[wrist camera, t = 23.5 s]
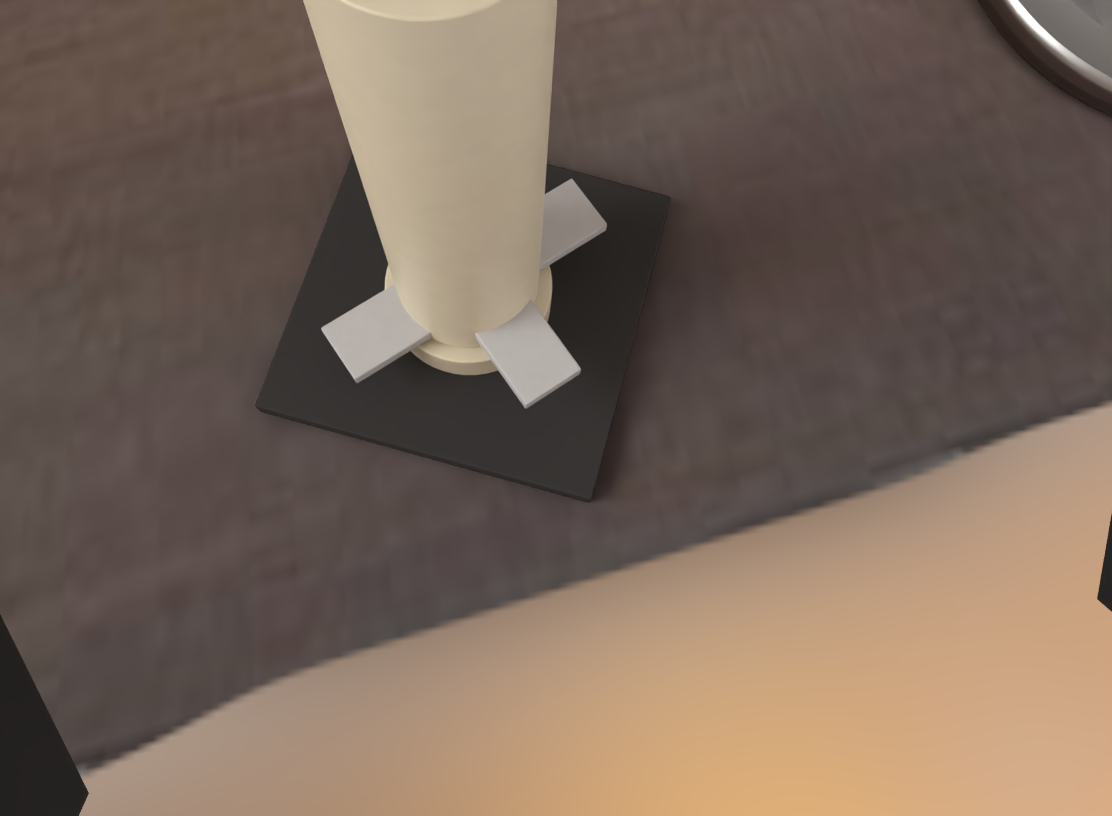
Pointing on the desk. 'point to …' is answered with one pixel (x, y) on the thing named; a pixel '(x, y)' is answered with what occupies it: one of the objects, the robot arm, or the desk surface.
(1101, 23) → the robot arm
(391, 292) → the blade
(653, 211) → the mat
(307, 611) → the desk surface
